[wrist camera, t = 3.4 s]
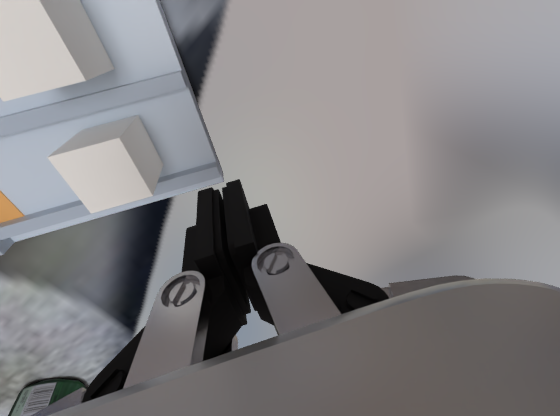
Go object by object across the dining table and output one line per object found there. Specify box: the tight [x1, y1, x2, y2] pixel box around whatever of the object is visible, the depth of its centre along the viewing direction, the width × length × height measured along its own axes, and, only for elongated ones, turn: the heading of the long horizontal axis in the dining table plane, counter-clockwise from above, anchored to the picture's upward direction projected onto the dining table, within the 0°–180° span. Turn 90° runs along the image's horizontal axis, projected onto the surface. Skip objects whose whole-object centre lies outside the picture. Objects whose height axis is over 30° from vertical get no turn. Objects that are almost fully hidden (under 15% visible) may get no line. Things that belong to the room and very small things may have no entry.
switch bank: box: [0, 0, 224, 255], centre depth 16 cm, size 19×24×4 cm
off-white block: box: [0, 0, 115, 102], centre depth 14 cm, size 4×4×5 cm
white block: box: [47, 115, 163, 214], centre depth 18 cm, size 4×4×5 cm
